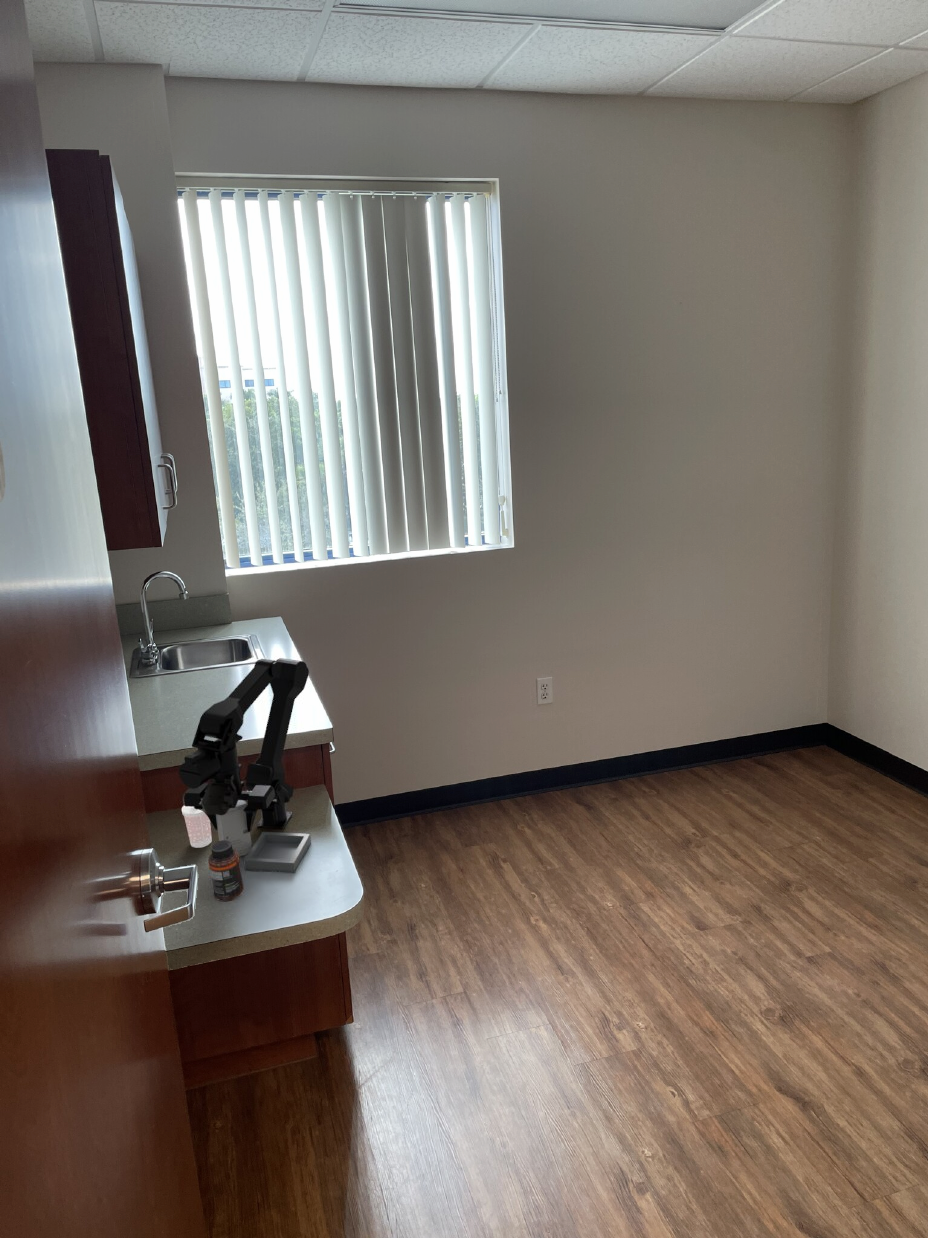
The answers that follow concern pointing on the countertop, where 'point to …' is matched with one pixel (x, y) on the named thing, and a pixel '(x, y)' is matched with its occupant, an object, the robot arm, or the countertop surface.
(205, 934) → the countertop surface
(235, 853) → the supplement bottle
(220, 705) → the robot arm
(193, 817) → the beverage cup
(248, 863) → the tray
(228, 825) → the skincare box
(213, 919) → the countertop surface
